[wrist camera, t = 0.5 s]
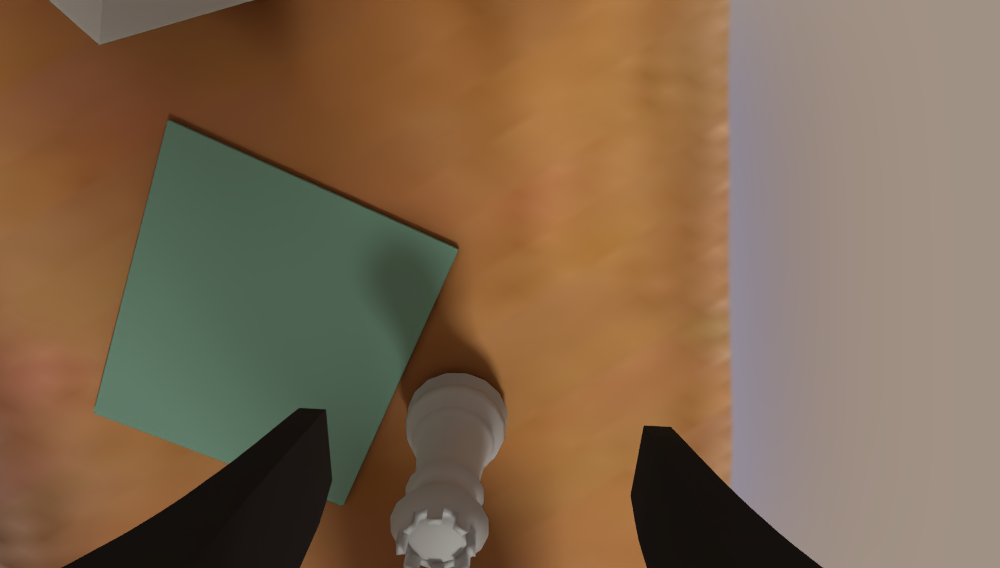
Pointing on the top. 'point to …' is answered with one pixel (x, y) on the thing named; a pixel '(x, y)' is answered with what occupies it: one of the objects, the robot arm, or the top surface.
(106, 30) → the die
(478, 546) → the rook chess piece
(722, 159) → the top surface
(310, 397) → the felt mat
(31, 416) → the top surface
